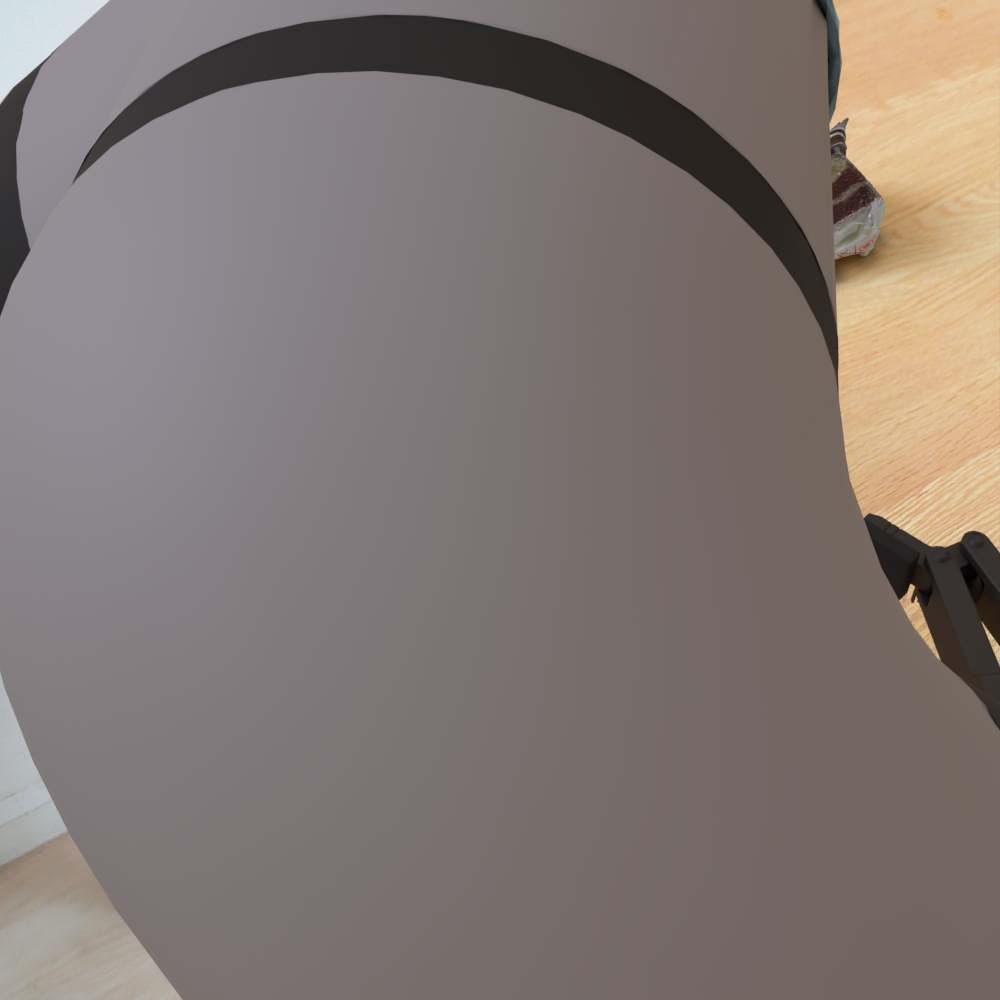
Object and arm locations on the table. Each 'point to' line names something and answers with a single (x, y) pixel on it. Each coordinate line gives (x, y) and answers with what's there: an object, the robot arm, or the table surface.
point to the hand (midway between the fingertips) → (691, 585)
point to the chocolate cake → (852, 201)
